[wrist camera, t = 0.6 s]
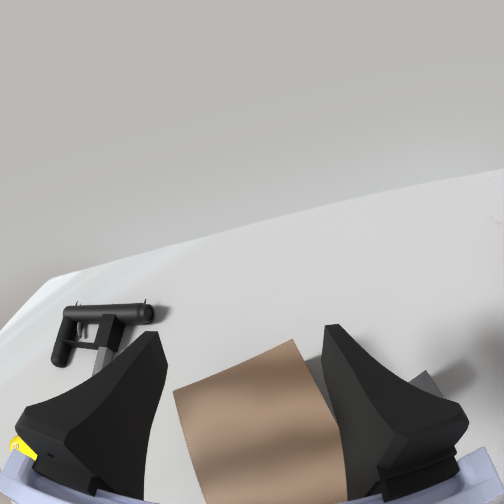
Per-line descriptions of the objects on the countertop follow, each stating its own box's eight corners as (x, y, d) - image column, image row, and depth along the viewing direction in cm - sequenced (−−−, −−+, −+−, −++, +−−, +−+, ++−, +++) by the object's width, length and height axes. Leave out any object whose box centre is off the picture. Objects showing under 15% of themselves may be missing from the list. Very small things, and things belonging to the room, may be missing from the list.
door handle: (122, 406, 28) (148, 291, 38) (39, 380, 34) (65, 297, 43) (138, 411, 31) (160, 303, 40) (53, 387, 36) (77, 306, 46)
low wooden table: (379, 507, 16) (387, 519, 11) (256, 551, 15) (234, 568, 11) (302, 361, 28) (292, 338, 24) (201, 405, 28) (172, 391, 24)
